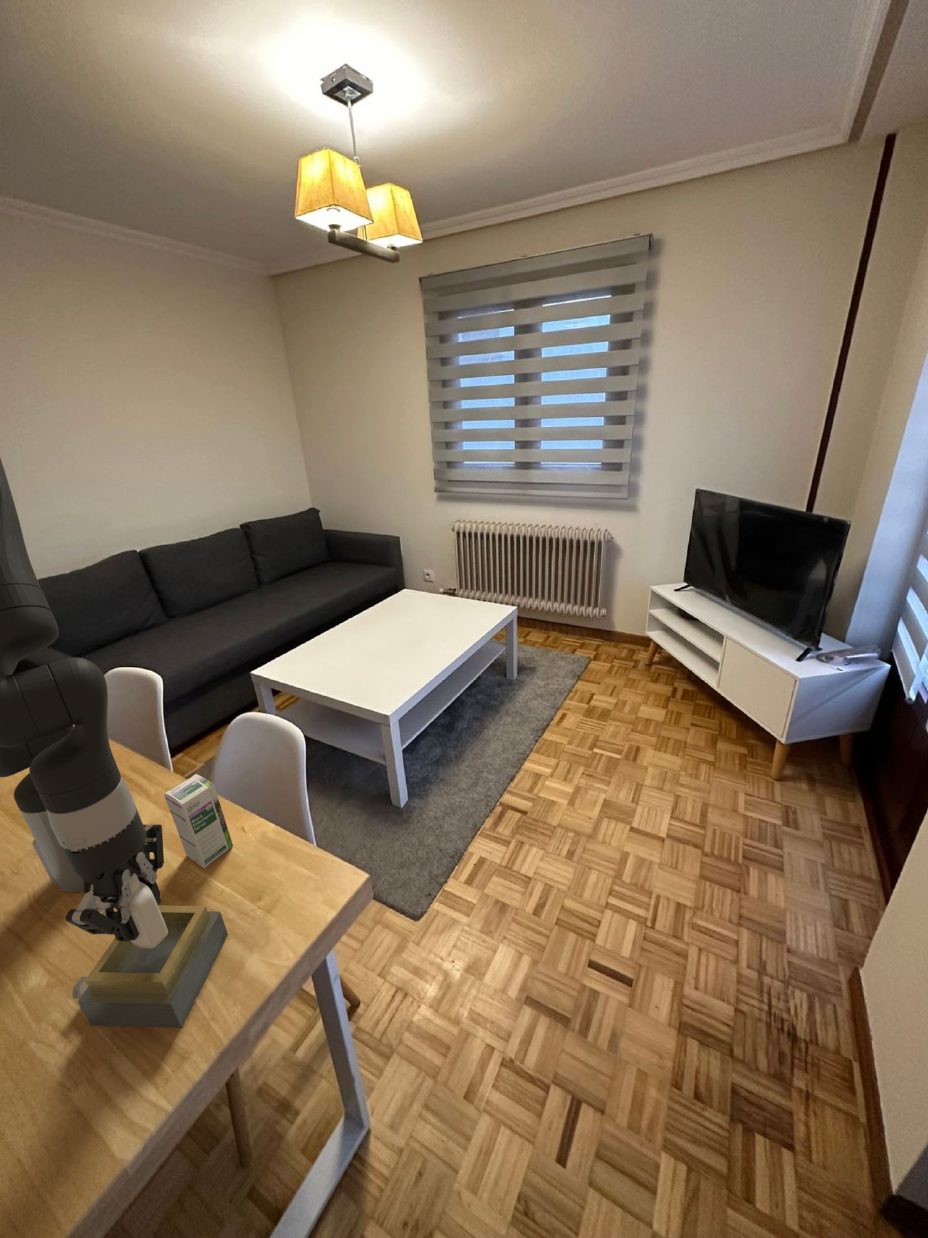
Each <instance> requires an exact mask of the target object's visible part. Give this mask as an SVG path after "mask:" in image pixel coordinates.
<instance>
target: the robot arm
mask: <svg viewBox="0 0 928 1238" xmlns="http://www.w3.org/2000/svg"><path fill="white" fill-rule="evenodd" d="M27 550H28V549H27V547H26V543H25V538H24V534H23V530H22V526H21V522H20V519H19V514H18V511H17V508H16V505H15V500H14V497H13V494H12V491H11V488H10V484H9V481H8V477H7V474H6V471H5V468H4V465H3V462H2V458H1V457H0V778H7V777H10V776H13V775H16V774H18V773H21V772H23V771H25V770H27V769H29V772H28V773H27V774H26V775H25V776H24V777H23V778H22V779H21V780H20V782H18V784H17V785H16V787H15V788H14V791H13V800H14V802H15V803H16V805H17V807H18V809H19V811H20V813H21V816H22V817H23V819H24V821H25V823H26V825H27V826H28V829H29V830H30V833H31V835H32V836H33V837H32V838H34V839H33V841H32V846H33V850H34V851H35V852H36V854H37V856H38V858H39V859H40V863H41V864H42V866H43V868H44V870H45V872H46V873H47V875H48V878H49V879H50V882H51V883H52V884H53V885H58V888H59V889H60V890H61V891H63V892H65V893H79V892H82V893H83V894H84V895H83V898H82V899H81V901H80V903H79V904H78V906H77V908H72V909H69V911H67V913H66V915H65V922H67V923H69V924H71V925H73V926H75V927H77V928H79V929H81V930H82V931H84V932H87V933H88V934H90V935H110V936H111V935H113V936H114V939H115V938H116V940H118V941H130V940H136V939H137V937H138V936H139V932H138V930H137V927H136V925H135V923H134V921H133V918H132V916H130V912H129V905H128V902H129V901H130V900H131V892H130V885H129V880H130V878H131V876H132V875H133V874H134V873H135V874H136V875H137V877H138V880H139V882H142V883H144V884H145V885H147V886H148V887H149V888H150V890H151V891H152V893H153V895H154V898H155V900H156V902H157V905H158V906H160V904H161V902H162V898H161V890H160V888H159V885H158V883H157V879H158V874H157V872H158V870H159V869H162V868H163V866H164V864H165V858H164V857H165V856H164V855H165V853H164V839H163V825H162V824H144V823H143V821H142V818H141V816H140V813H139V811H138V808H137V806H136V803H135V800H134V798H133V795H132V793H131V789H130V788H129V787H128V785H127V783H126V782H125V780H124V778H123V777H122V775H121V773H120V770H119V767H118V765H117V762H116V760H115V756H114V754H113V752H112V749H111V746H110V745H111V744H110V741H109V740H110V739H109V733H108V707H109V706H108V705H109V703H108V702H109V701H108V700H109V695H108V684H107V680H106V678H105V675H104V673H103V671H102V670H101V669H100V668H99V667H98V665H96V664H95V663H94V662H92V661H90V660H87V659H85V658H83V657H68V658H64V659H61V660H57V661H54V662H50V663H48V664H46V665H45V664H44V665H40V666H37V667H33V668H30V669H27V670H26V669H25V670H23V671H20V672H16V673H14V671H15V670H16V668H17V665H18V663H19V662H21V661H23V660H24V659H25V658H27V657H29V656H31V655H34V654H36V653H38V652H40V651H41V650H44V649H45V648H47V647H49V646H50V645H52V644H53V643H55V642H56V640H57V639H58V637H59V632H60V631H59V627H58V622H57V621H56V618H55V615H54V613H53V611H52V609H51V607H50V605H49V602H48V601H47V598H46V596H45V594H44V591H43V589H42V588H41V584H40V583H39V580H38V578H37V576H36V574H35V571H34V570H35V569H34V568H33V565H32V563H31V560H30V557H29V553H28V551H27ZM150 853H152V854H153V858H151V856H150ZM115 908H116V909H117V911H116V910H115Z"/></svg>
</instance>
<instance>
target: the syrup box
mask: <svg viewBox="0 0 928 1238" xmlns="http://www.w3.org/2000/svg"><path fill="white" fill-rule="evenodd" d="M163 795H164V799H165V802H166V805H167V806H168V809H169V812H170V815H171V817H172V820H173V824H174V825H175V828H176V830H177V833H178V836H179V839H180V841H181V845H182V847H183V849H184V852H185V855H186V856H187V857H188V858H189V859H191V860H192V861H193V862H195V863H196V864H197V865H199V866H200V867H202V868H203V869H206V868H208V866H209V865H210V864H211V863H213V862H215V860H216V861H217V859H218V858H220V857H221V856H222V855H223V854H224V853H226V852H227V851H229V850H230V849H231V848H232V847H233V846H234V844H233V841H232V838H231V834H230V832H229V829H228V825H227V822H226V818H225V815H224V812H223V808H222V806H221V802H220V799H219V796H218V795H219V794H218V793H217V790H216V787H215V785H214V783H213V782H211V781H209V780H208V779H206V778H205V777H203V776H201V775H199V774H197V773H195V774H194V775H192V776H191V777H190V778H188V779H186V780H184V781H183V782H181V783H180V784H178V785H176V786H175V787H173V788H171V789H170V790H168V791H166V792H165V793H163Z"/></svg>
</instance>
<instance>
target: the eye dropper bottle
mask: <svg viewBox="0 0 928 1238" xmlns="http://www.w3.org/2000/svg"><path fill="white" fill-rule="evenodd" d="M129 885H130V892H131V900H130V901H129V902H128V905H129V912H130V916H132V918H133V921H134V923H135V925H136V927H137V930H138V932H139V936H138V937H137V939H136V940H130V941H131V942H132V943H133V944H134V945H136V946H138V947H141V948H154V947H156V946H157V945H158V944H159V943H160V942H161V941H162V940H163V939H164V938H165V937H166V936H167V934H168V929H167V927H166V924H165V922H164V919H163V917H162V915H161V912H160V910H159V907H158V906H159V905H157V902H156V900H155V898H154V895H153V893H152V891H151V890H150V888H149V887H148V886H147V885H145V884H144V883H142V882H139V880H138V877H137V875H136V874H135V873H134V874H133V875H132V876H131V878H130V880H129ZM114 911H117V909H116V908H114Z"/></svg>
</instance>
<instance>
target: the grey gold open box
mask: <svg viewBox="0 0 928 1238" xmlns="http://www.w3.org/2000/svg"><path fill="white" fill-rule="evenodd" d="M158 907H159V910H160V912H161V915H162V917H163V919H164V922H165V924H166V927H167V929H168V934H167V936H166V937H165V938H164V939H163V940H162V941H161V942H160V943H159V944H158V945H157V946H156V947H154V948H141V947H138V946H136V945H134V944H133V943H132V942H131V941H118V940H116V938H115V937H114V938H113V940H112V942H111V943H110V945H108V947H107V948H106V950H105V952H104V953H103V954H102V955H101V957H100V959H99V960H98V961H97V962H96V964H95V966H94V967H93V968H92V970H91V971H90V973H89V974H88V975H83V976H81V977H80V978H79V979H78V980H77V981H76V983H75V984H74V986H73V989H72V995H71V996H72V998H73V999H74V1000H78V1001H77V1003H78V1006H79V1008H81V1010H82V1012H83V1014H84V1016H85V1017H86V1019H87V1021H88V1023H89V1025H90V1026H91V1027H93V1026H94V1027H98V1026H99V1027H125V1028H126V1027H129V1028H130V1027H132V1028H135V1027H136V1028H167V1029H168V1028H170V1029H174V1028H175V1029H182V1028H183V1026H184V1024H185V1022H186V1020H187V1018H188V1015H189V1014H190V1012H191V1009H192V1008H193V1006H194V1003H195V1002H196V999H197V997H198V996H199V993H200V992H201V989H202V988H203V986H204V983H205V981H206V979H207V978H208V976H209V974H210V971H211V969H212V967H213V966H214V964H215V961H216V959H217V958H218V955H219V953H220V951H221V950H222V947H223V945H224V943H225V942H226V939H227V937H228V935H229V934H228V930H227V927H226V924H225V921H224V919H223V916H222V913H221V911H217V910H216V911H213V910H211V911H210V910H208V909H207V906H206V905H158Z"/></svg>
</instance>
